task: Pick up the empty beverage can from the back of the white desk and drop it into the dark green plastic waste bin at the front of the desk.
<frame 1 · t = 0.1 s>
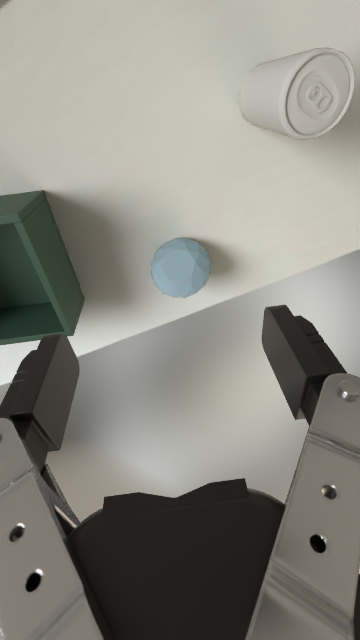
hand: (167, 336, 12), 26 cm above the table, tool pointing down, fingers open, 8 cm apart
bin: (9, 259, 36), on the table
beverage can: (261, 96, 28), on the table
gemstone: (178, 257, 38), on the table
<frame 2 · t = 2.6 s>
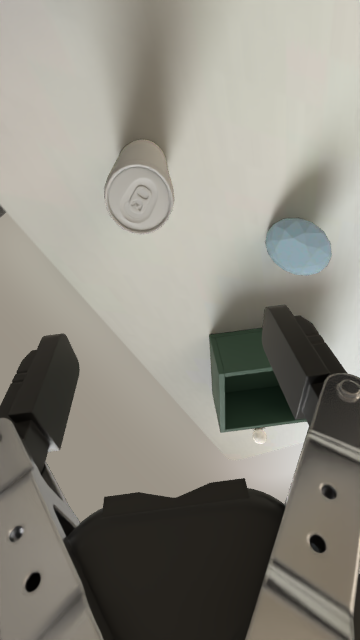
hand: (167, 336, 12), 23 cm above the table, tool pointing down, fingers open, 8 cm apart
bin: (254, 361, 48), on the table
polyhedron: (257, 428, 62), on the table
beverage can: (143, 166, 29), on the table
gemstone: (287, 238, 35), on the table
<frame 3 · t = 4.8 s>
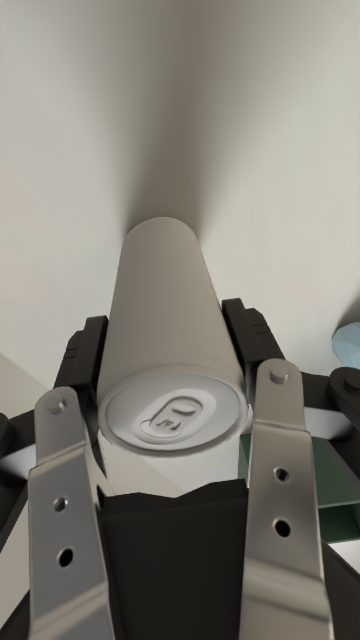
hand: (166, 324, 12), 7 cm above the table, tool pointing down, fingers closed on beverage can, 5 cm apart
bin: (293, 457, 37), on the table
beverage can: (161, 249, 18), on the table, touching gripper
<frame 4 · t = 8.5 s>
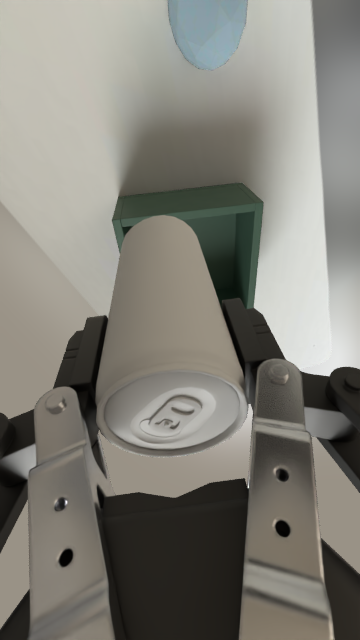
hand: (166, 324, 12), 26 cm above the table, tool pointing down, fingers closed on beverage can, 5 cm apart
bin: (185, 248, 38), on the table
beverage can: (160, 248, 18), point 18 cm above the table, touching gripper
gemstone: (200, 15, 25), on the table
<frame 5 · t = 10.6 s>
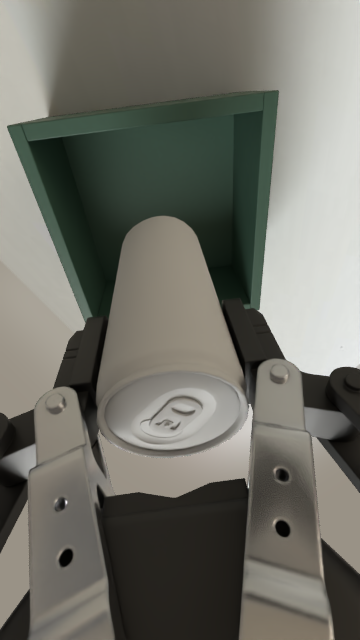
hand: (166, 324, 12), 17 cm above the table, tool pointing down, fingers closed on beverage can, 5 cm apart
bin: (159, 205, 26), on the table
beverage can: (161, 249, 18), point 10 cm above the table, touching gripper
when the fingers open (13 cm above the table, at t = 12.3 s): beverage can drops 4 cm, resting on bin.
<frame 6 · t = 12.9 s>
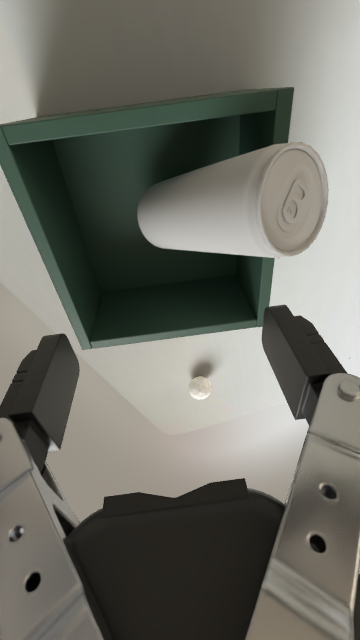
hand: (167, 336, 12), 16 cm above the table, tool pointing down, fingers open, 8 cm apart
bin: (158, 212, 24), on the table
polyhedron: (198, 377, 38), on the table
beverage can: (161, 216, 22), point 2 cm above the table, touching bin
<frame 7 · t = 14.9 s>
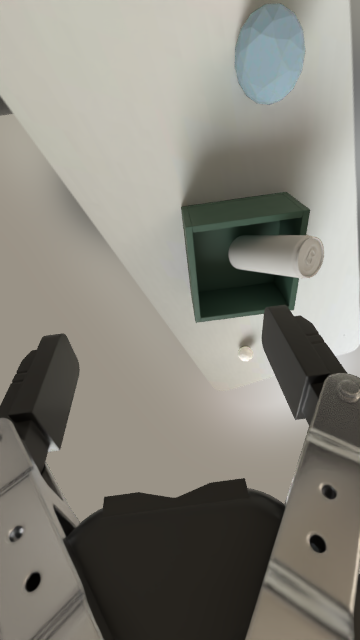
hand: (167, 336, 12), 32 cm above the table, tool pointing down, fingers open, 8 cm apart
bin: (233, 248, 44), on the table
polyhedron: (243, 347, 58), on the table
beverage can: (238, 252, 42), point 2 cm above the table, touching bin
gemstone: (260, 61, 31), on the table
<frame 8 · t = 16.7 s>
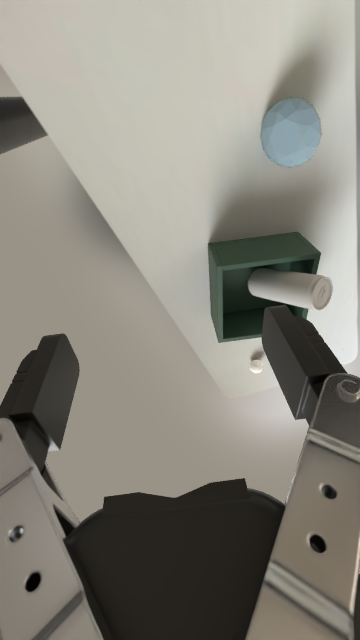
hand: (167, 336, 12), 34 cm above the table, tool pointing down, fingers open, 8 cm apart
bin: (250, 277, 50), on the table
polyhedron: (254, 360, 64), on the table
beverage can: (255, 281, 48), point 2 cm above the table, touching bin
gemstone: (281, 132, 37), on the table
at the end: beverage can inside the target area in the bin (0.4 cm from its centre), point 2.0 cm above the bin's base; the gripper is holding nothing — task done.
